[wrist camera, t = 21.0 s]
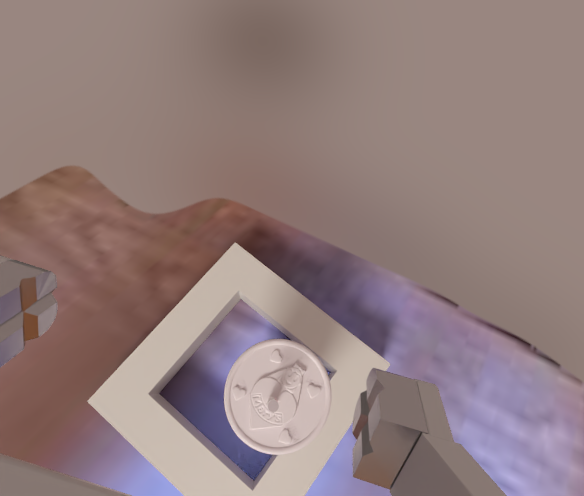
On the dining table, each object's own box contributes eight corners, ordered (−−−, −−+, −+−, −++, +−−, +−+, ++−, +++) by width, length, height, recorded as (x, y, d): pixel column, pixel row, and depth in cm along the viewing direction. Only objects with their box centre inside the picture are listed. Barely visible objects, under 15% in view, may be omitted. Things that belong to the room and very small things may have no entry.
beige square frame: (104, 400, 30) (87, 401, 27) (237, 254, 35) (235, 242, 32) (258, 548, 27) (257, 567, 24) (379, 366, 32) (390, 363, 29)
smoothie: (219, 395, 30) (182, 404, 17) (271, 334, 32) (274, 301, 19) (278, 452, 29) (288, 509, 16) (329, 386, 31) (375, 387, 18)
